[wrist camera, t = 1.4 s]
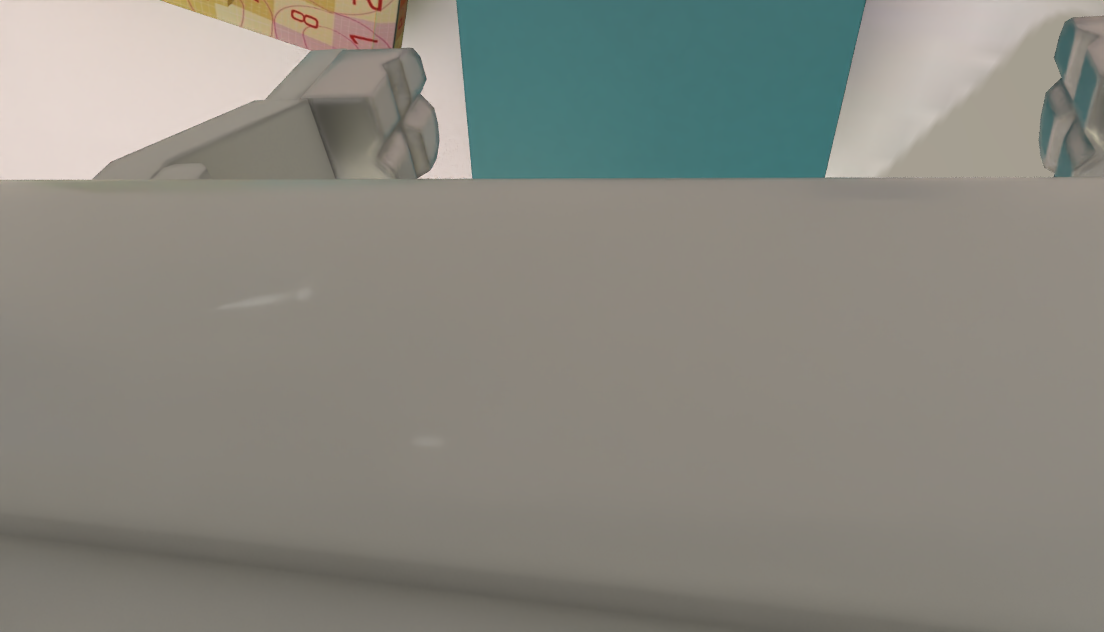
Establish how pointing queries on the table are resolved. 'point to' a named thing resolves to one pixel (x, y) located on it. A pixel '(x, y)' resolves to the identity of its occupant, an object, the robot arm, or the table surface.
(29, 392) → the robot arm
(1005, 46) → the table surface
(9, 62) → the table surface
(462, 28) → the cooler lid
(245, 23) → the puzzle game
